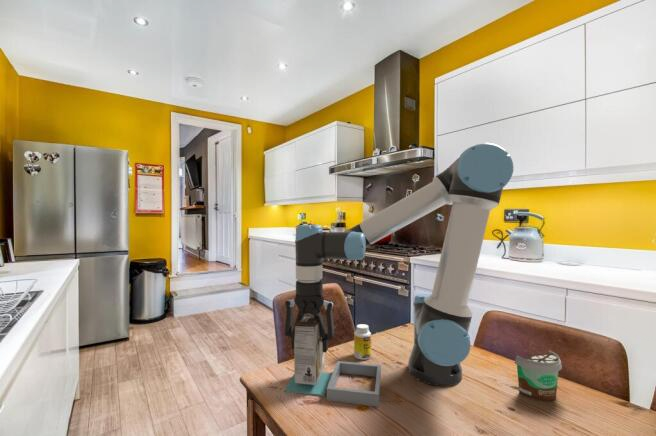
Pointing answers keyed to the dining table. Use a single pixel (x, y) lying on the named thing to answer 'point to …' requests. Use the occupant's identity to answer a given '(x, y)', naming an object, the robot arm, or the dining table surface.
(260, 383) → the dining table surface
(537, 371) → the food container
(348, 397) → the square frame
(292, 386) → the mat
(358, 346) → the supplement bottle
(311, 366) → the coffee box
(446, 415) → the dining table surface
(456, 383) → the robot arm
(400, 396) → the dining table surface
